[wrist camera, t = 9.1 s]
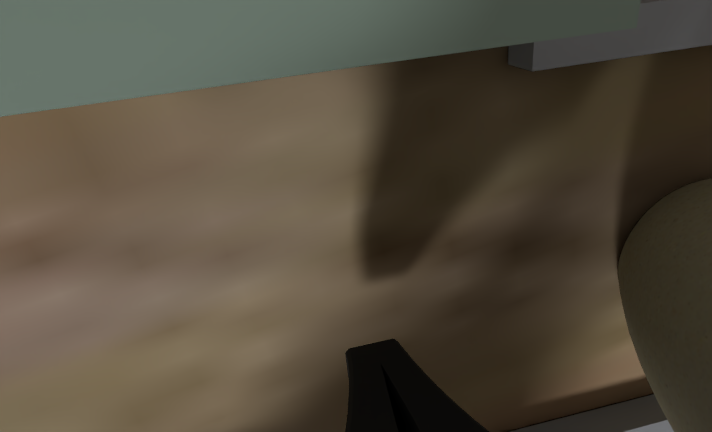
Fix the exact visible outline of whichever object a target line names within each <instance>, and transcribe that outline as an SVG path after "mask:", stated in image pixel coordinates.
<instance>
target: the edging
mask: <svg viewBox="0 0 712 432" xmlns="http://www.w3.org/2000/svg"><path fill="white" fill-rule="evenodd" d="M707 45H712V0H641V1H640V8H639V15H638V22H637V28H632V29H625V30H618V31H611V32H604V33H597V34H589V35H582V36H575V37H568V38H561V39H553V40H546V41H539V42H532V43H525V44H518V45H510V46H509V50H508V64H509V65H512V66H515V67H519V68H522V69H526V70H529V71H539V70H545V69H552V68H559V67H566V66H572V65H579V64H586V63H593V62H599V61H606V60H613V59H619V58H626V57H633V56H640V55H646V54H653V53H660V52H667V51H673V50H680V49H687V48H694V47H700V46H707ZM510 432H674V431H673V429H672V427H671V425H670V424H669V422H668V420H667V418H666V416H665V415H664V413H663V411H662V409H661V407H660V405H659V403H658V401H657V399H656V397H655V395H654V394H653V395H649V396H645V397H641V398H637V399H633V400H630V401H626V402H622V403H618V404H614V405H610V406H606V407H603V408H599V409H595V410H591V411H587V412H583V413H579V414H576V415H572V416H568V417H564V418H560V419H556V420H552V421H549V422H545V423H541V424H537V425H533V426H529V427H525V428H522V429H518V430H514V431H510Z"/></svg>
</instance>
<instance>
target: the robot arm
mask: <svg viewBox="0 0 712 432" xmlns="http://www.w3.org/2000/svg"><path fill="white" fill-rule="evenodd" d="M345 354H346V362H347V369H348V377H349V401H348V415H347V424H346V431H345V432H489V431H488V430H486V429H485V428H484V427H483V426H481V425H480V424H479V423H478V422H477V421H475V420H474V419H473V418H472V417H471V416H469V415H468V414H467V413H466V412H465V411H464V410H463V409H461V408H460V407H459V406H458V405H457V404H456V403H455V402H454V401H453V400H451V399H450V398H449V397H448V396H447V395H446V394H445V393H444V392H443V391H442V390H441V389H440V388H439V387H438V386H437V385H436V384H435V383H434V382H433V381H432V380H431V379H430V378H429V377H428V376H427V375H426V374H425V373H424V372H423V371H422V369H421V368H420V367H419V366H418V365H417V364H416V363H415V362H414V361H413V359H412V358H411V357H410V356H409V355H408V354H407V352H406V351H405V350H404V349H403V347H402V346H401V345H400V344H399V342H398V341H396V340H395V339H390V340H386V341H381V342H376V343H372V344H367V345H363V346H358V347H353V348H349V349H348V350H347V351H346V353H345Z"/></svg>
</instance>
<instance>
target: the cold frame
mask: <svg viewBox="0 0 712 432" xmlns="http://www.w3.org/2000/svg"><path fill="white" fill-rule="evenodd" d="M640 1H641V0H0V117H1V116H8V115H15V114H22V113H29V112H37V111H44V110H51V109H58V108H65V107H73V106H80V105H87V104H94V103H101V102H108V101H116V100H123V99H130V98H137V97H144V96H152V95H159V94H166V93H173V92H180V91H187V90H195V89H202V88H209V87H216V86H223V85H230V84H238V83H245V82H252V81H259V80H266V79H274V78H281V77H288V76H295V75H302V74H309V73H317V72H324V71H331V70H338V69H345V68H353V67H360V66H367V65H374V64H381V63H388V62H396V61H403V60H410V59H417V58H424V57H431V56H439V55H446V54H453V53H460V52H467V51H475V50H482V49H489V48H496V47H503V46H510V45H518V44H525V43H532V42H539V41H546V40H553V39H561V38H568V37H575V36H582V35H589V34H597V33H604V32H611V31H618V30H625V29H632V28H637V22H638V15H639V8H640Z"/></svg>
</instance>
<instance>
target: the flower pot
mask: <svg viewBox="0 0 712 432" xmlns="http://www.w3.org/2000/svg"><path fill="white" fill-rule="evenodd" d="M618 280H619V288H620V294H621V299H622V305H623V309H624V314H625V318H626V322H627V326H628V329H629V333H630V336H631V339H632V342H633V344H634V347H635V350H636V353H637V356H638V358H639V361H640V364H641V366H642V368H643V371H644V373H645V375H646V378H647V380H648V382H649V384H650V387H651V389H652V391H653V393H654V395H655V397H656V399H657V401H658V403H659V405H660V407H661V409H662V411H663V413H664V415H665V416H666V418H667V420H668V422H669V424H670V425H671V427H672V429H673V431H674V432H712V178H710V179H706V180H702V181H698V182H694V183H691V184H688V185H686V186H684V187H681V188H679V189H677V190H675V191H673V192H672V193H670V194H668V195H667V196H665V197H664V198H662V199H661V200H660V201H658V202H657V203H656V204H655V205H654V206H652V207H651V208H650V209H649V210H648V211H647V212H646V213H645V214H644V215H643V217H642V218H641V219H640V220H639V221H638V223H637V224H636V226H635V227H634V228H633V230H632V232H631V233H630V235H629V237H628V238H627V240H626V242H625V244H624V247H623V249H622V253H621V256H620V259H619V265H618Z"/></svg>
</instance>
